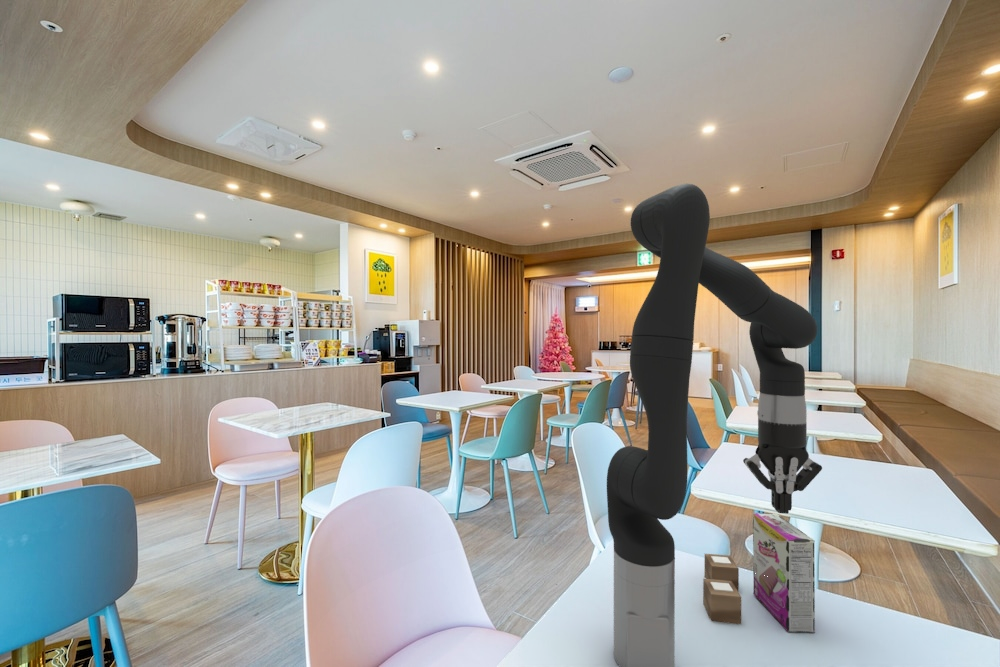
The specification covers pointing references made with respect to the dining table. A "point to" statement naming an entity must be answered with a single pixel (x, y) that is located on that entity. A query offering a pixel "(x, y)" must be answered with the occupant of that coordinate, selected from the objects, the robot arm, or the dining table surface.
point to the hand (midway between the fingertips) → (781, 511)
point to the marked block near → (722, 601)
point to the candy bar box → (784, 572)
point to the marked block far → (721, 568)
